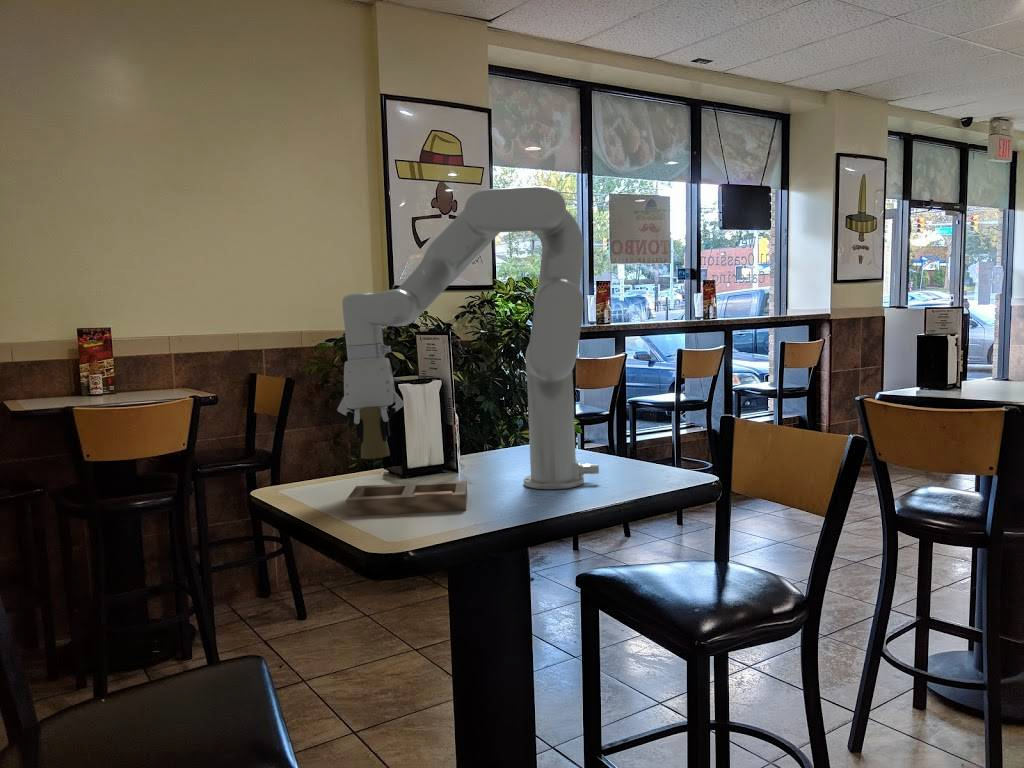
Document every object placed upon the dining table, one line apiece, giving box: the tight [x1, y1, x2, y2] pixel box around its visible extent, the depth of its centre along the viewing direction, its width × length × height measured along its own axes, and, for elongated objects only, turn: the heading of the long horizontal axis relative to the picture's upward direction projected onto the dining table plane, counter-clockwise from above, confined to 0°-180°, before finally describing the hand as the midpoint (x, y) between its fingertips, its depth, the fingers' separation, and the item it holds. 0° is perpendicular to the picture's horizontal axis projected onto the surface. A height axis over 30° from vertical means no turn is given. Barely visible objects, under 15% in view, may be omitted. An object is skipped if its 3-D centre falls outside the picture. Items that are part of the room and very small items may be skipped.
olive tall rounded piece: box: [360, 407, 391, 460], centre depth 166 cm, size 6×6×11 cm
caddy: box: [345, 480, 468, 517], centre depth 153 cm, size 22×12×3 cm, turn 92°
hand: (374, 440), depth 166 cm, fingers closed on olive tall rounded piece, 3 cm apart
